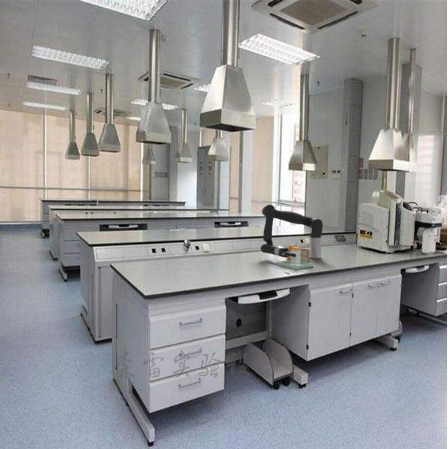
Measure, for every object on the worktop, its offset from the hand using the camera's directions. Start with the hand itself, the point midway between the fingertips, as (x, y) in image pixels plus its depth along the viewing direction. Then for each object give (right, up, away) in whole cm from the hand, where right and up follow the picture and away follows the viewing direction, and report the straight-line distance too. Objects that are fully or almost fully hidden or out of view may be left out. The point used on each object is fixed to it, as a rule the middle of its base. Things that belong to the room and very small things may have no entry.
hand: (298, 255), depth 271 cm
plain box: (+8, -8, +14) cm, 18 cm away
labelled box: (-2, -6, +3) cm, 7 cm away
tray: (-2, -8, +3) cm, 9 cm away
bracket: (+3, -6, +31) cm, 32 cm away
